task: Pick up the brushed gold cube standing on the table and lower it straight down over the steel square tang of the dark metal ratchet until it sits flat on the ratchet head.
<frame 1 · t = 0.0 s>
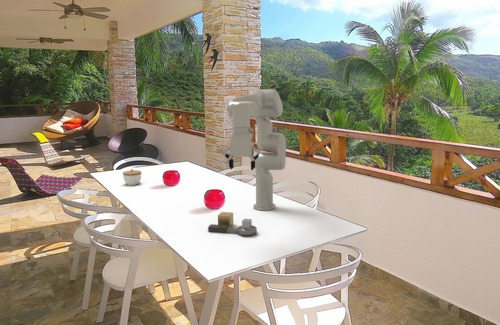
hand: (242, 169, 178), 31 cm above the table, tool pointing down, fingers open, 9 cm apart
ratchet: (247, 233, 187), on the table
brushed gold cube: (225, 225, 197), on the table
lidded bowl: (132, 184, 287), on the table
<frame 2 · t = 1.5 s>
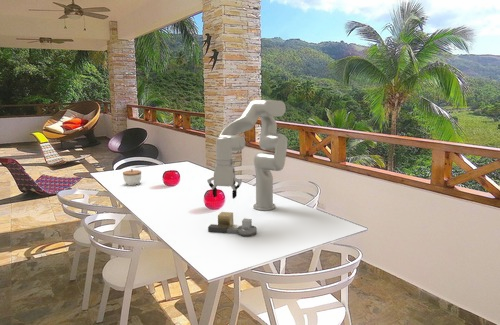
hand: (224, 197, 194), 15 cm above the table, tool pointing down, fingers open, 9 cm apart
nothing on the table moved.
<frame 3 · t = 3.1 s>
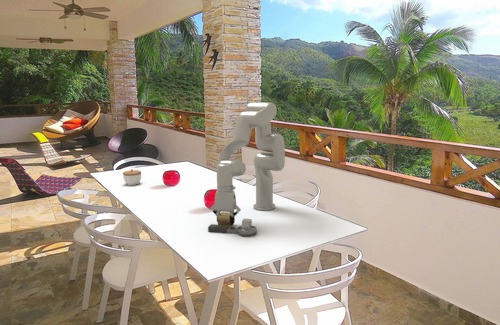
hand: (225, 223, 197), 1 cm above the table, tool pointing down, fingers closed on brushed gold cube, 6 cm apart
brushed gold cube: (225, 225, 197), on the table, touching gripper
everything else where it was.
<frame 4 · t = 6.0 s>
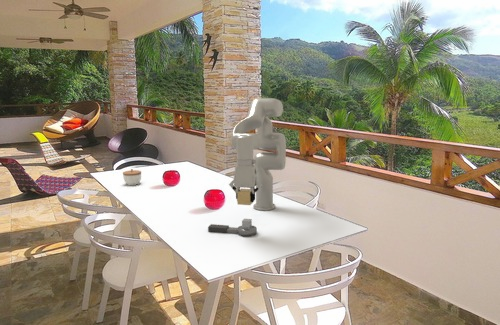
hand: (245, 200, 184), 16 cm above the table, tool pointing down, fingers closed on brushed gold cube, 6 cm apart
brushed gold cube: (245, 203, 184), point 15 cm above the table, touching gripper
everything else where it was.
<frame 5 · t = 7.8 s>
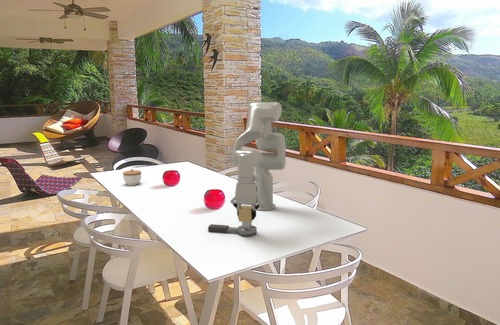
hand: (246, 217, 185), 8 cm above the table, tool pointing down, fingers closed on brushed gold cube, 6 cm apart
brushed gold cube: (246, 219, 185), point 7 cm above the table, touching gripper
everything else where it was.
when the fingers open (4 cm above the table, at t = 9.0 s): brushed gold cube stays where it is, resting on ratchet.
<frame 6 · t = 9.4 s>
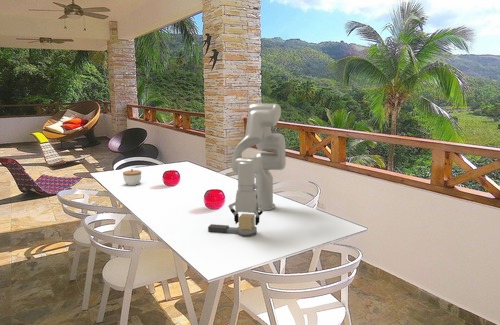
hand: (246, 223, 186), 5 cm above the table, tool pointing down, fingers open, 9 cm apart
brushed gold cube: (247, 228, 186), point 2 cm above the table, touching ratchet
everything else where it was.
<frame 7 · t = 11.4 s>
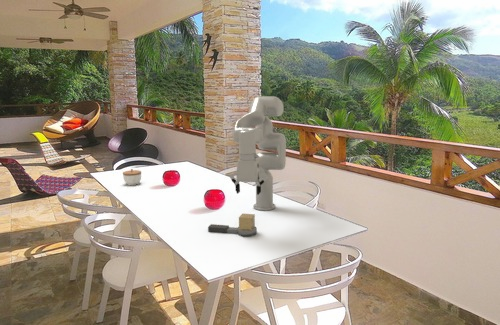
hand: (248, 193, 184), 19 cm above the table, tool pointing down, fingers open, 9 cm apart
nothing on the table moved.
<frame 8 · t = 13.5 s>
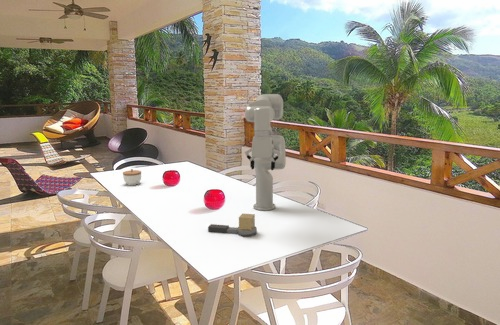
hand: (262, 169, 192), 28 cm above the table, tool pointing down, fingers open, 9 cm apart
nothing on the table moved.
at the end: brushed gold cube 0.1 cm off-centre on the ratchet, point 2.5 cm above the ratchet's base; brushed gold cube tilted 0°; the gripper is holding nothing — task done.
